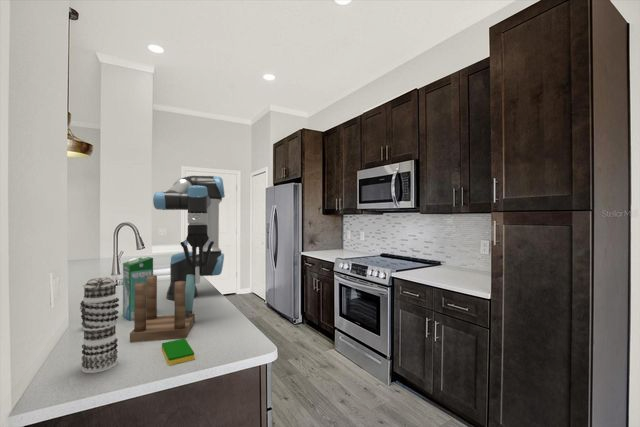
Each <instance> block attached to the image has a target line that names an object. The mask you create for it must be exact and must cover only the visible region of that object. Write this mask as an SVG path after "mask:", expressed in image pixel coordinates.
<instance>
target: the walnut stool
mask: <svg viewBox="0 0 640 427" xmlns="http://www.w3.org/2000/svg"><path fill="white" fill-rule="evenodd" d="M185 283H186V281H176V282H175V300H174V309H173V310H174V313H173V314H167V315H158V310H157V309H158V276H157V275H154V274H153V275H152V276H147V295H146V283H145V282H140V283H135V300H134V320H133V322H134V327H133V328H134V329H132V330H131V332H129V343H134V342H135V343H137V342H149V341H163V340H179V339H187V337H188V335H189V333H190V331H191V329H192V327H193V325H194V323H195V322H196V321H195V320H196V317H195V313H193V310H192V311H185Z"/></svg>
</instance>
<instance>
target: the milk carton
mask: <svg viewBox="0 0 640 427" xmlns="http://www.w3.org/2000/svg"><path fill="white" fill-rule="evenodd" d="M152 275H154V257H150V256H146V255H145V256H141V257H134V258H130V259H128V260H127V261H126V262H123V264H122V316H123V317H124V318H125V319H127V320H129V321H130V322H131V321H134V300H135V283H140V282H145V283H146V295H147V276H152Z"/></svg>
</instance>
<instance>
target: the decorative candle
mask: <svg viewBox="0 0 640 427" xmlns="http://www.w3.org/2000/svg"><path fill="white" fill-rule="evenodd" d="M117 284H118V282H116V281H114V279H113V278H111V277H97V278H96V277H95V278H92V279H89V280H88V281H87V282H86V284H84V285H82V287H83V288H84V292H83V293H84V294H83V295H84V296H83V299H82V301H81V302H80V303H79V304H80V305H79V306H82V307H83V308H82V309H80V313H81V316H80V317H81V320H82V319H83V320H82V322H81V325H82V326H81V329H82V330H83V337H82V338H83V340H82V341H83V342H82V345H81V348H82V350H81V353H82V357H81V361H82V362H81V367H82V368H81V371H82V372H83V373H85V374H96V373H102V372H104V371H107V370H110V369H112V368H114V367H115V366H116V365H117V364H118V360H117V359H118V352H119V351H118V343H117V342H118V338H117V331H116V329H117V328H116V325H117V324H118V320H117V319H118V318H119V316H118V314H119V311H118V310H117V309H116V308H118V307H120V305H119V304H120V303H117V302H119V301H120V298H118V297H117V290H116V289H117V287H116V286H117Z"/></svg>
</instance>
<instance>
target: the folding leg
mask: <svg viewBox="0 0 640 427" xmlns="http://www.w3.org/2000/svg"><path fill="white" fill-rule="evenodd" d="M195 285H196V284H195V275H193V274H188V275H187V277H186V286H185V311H192V312H193V310H194V308H193V307H194V299H195V297H194V292H195Z"/></svg>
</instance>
